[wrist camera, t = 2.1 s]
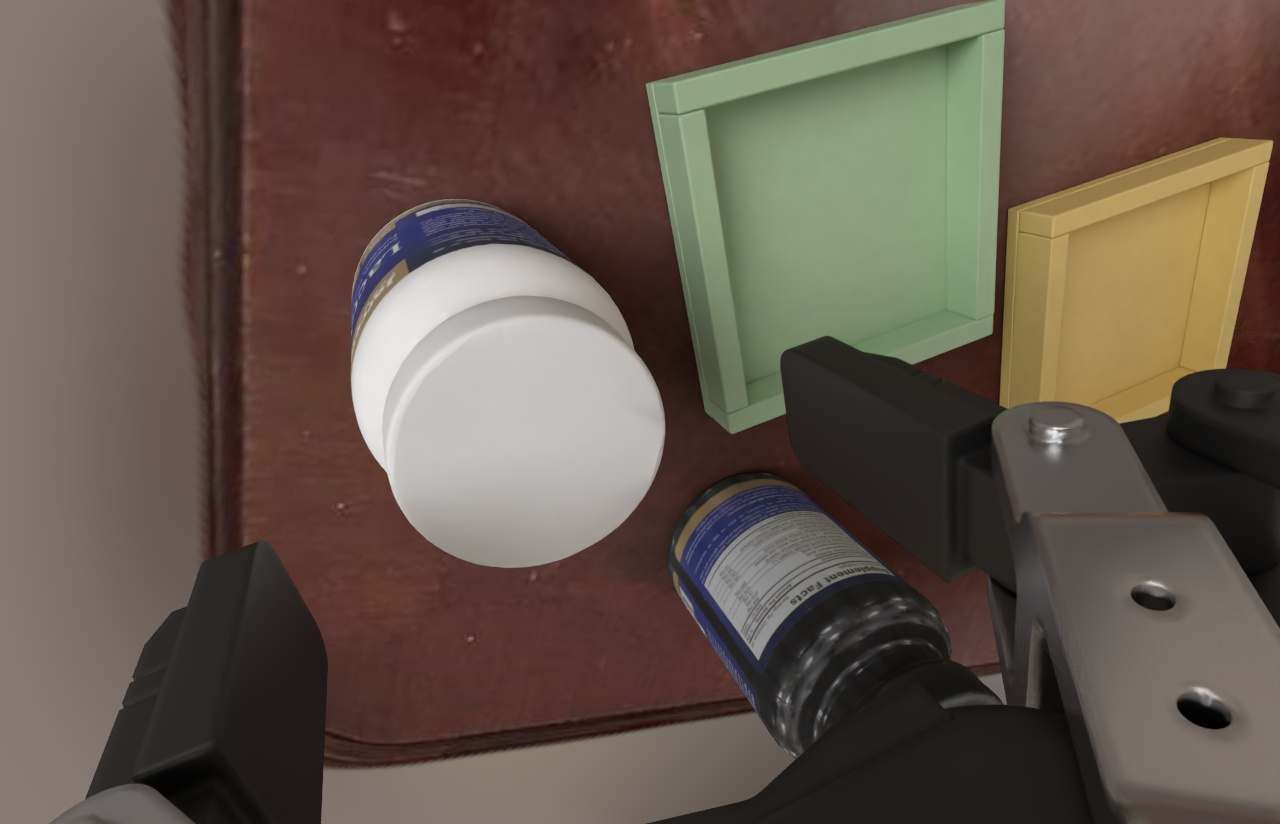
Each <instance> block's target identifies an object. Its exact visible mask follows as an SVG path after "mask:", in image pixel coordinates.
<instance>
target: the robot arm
mask: <svg viewBox="0 0 1280 824" xmlns="http://www.w3.org/2000/svg"><path fill="white" fill-rule="evenodd" d="M780 370H781V378H782V385H783V393H784V401H785V409H786V417H787V425H788V433H789V438H790V442H791V445H792V448H793V450H794V453H795V455H796V456H797V458H798V460H799V461H800V463H801V464H802V465H803V467H804V468H805V469H806V470H807V471H809V472H810V473H811V474H812V475H814V476H815V477H816V478H817V479H819V480H820V481H821V482H822V483H823V484H825V485H826V486H827V487H828V488H830V489H831V490H832V491H833V492H835V493H836V494H837V495H838V496H840V497H841V498H842V499H843V500H845V501H846V502H847V503H848V504H850V505H851V506H852V507H853V508H855V509H856V510H857V511H858V512H860V513H861V514H862V515H863V516H865V517H866V518H867V519H868V520H870V521H871V522H872V523H873V524H875V525H876V526H877V527H878V528H880V529H881V530H882V531H883V532H885V533H886V534H887V535H888V536H890V537H891V538H892V539H893V540H895V541H896V542H897V543H898V544H900V545H901V546H902V547H903V548H905V549H906V550H907V551H908V552H910V553H911V554H912V555H913V556H915V557H916V558H917V559H918V560H920V561H921V562H922V563H923V564H924V565H926V566H927V567H928V568H929V569H931V570H932V571H933V572H934V573H936V574H937V575H938V576H939V577H941V578H942V579H943V580H944V581H946V582H947V583H950V582H952V581H954V580H956V579H958V578H960V577H962V576H964V575H966V574H968V573H970V572H973V571H975V570H977V569H979V568H980V569H981V570H983V571H984V572H985V573H987V574H988V580H987V596H988V601H989V607H990V612H991V618H992V623H993V629H994V634H995V640H996V645H997V650H998V656H999V661H1000V667H1001V672H1002V678H1003V683H1004V689H1005V694H1006V701H1007V705H968V706H959V707H951V708H946V709H944V708H943V707H942V706H941V705H940V704H939V703H938V702H937V701H936V700H935V699H934V698H933V697H932V696H931V695H930V694H929V693H928V692H927V691H926V690H925V688H924V687H923V686H922V685H921V684H920V683H919V682H916V683H914V684H913V685H911V686H909V687H907V688H905V689H903V690H901V691H899V692H897V693H895V694H893V695H891V696H889V697H887V698H885V699H883V700H881V701H879V702H877V703H876V704H874V705H872V706H870V707H868V708H866V709H864V710H862V711H860V712H858V713H856V714H854V715H852V716H850V717H848V718H846V719H844V720H842V721H840V722H839V723H837V724H835V725H833V726H832V727H831V728H829V729H828V730H827V731H826V732H825V733H824V734H823V735H822V736H821V737H820V738H819V739H818V740H816V741H815V742H814V743H813V744H812V745H811V746H810V747H809V748H808V749H807V750H806V751H804V752H803V753H802V754H801V755H800V756H799V757H798V758H797V759H796V760H795V761H794V762H793V763H792V764H790V765H789V766H788V767H787V768H786V769H785V770H784V771H783V772H782V773H781V774H780V775H778V777H776V778H775V779H774V780H773V781H772V782H771V783H770V784H769V785H768V786H766V787H765V788H764V789H763V790H762V791H761V792H760V793H758V794H757V795H756V796H754V797H752V798H750V799H748V800H745V801H742V802H738V803H734V804H729V805H725V806H720V807H716V808H712V809H708V810H704V811H699V812H695V813H690V814H686V815H682V816H677V817H673V818H669V819H665V820H660V821H656V822H652V823H647V824H1280V375H1279V374H1275V373H1270V372H1265V371H1258V370H1250V369H1230V368H1227V369H1212V370H1204V371H1199V372H1195V373H1192V374H1188V375H1186V376H1184V377H1182V378H1180V379H1179V380H1177V381H1176V382H1175V383H1174V385H1173V387H1172V392H1171V398H1170V404H1169V411H1168V415H1163V416H1158V417H1152V418H1147V419H1141V420H1136V421H1130V422H1125V423H1118V422H1117V421H1116V420H1115V419H1114V418H1112V417H1111V416H1109V415H1107V414H1106V413H1104V412H1102V411H1099V410H1097V409H1094V408H1091V407H1088V406H1084V405H1080V404H1075V403H1068V402H1056V401H1044V402H1032V403H1026V404H1022V405H1018V406H1015V407H1012V408H1009V409H1007V408H1004V407H1002V406H1000V405H998V404H996V403H994V402H992V401H989V400H987V399H985V398H983V397H981V396H979V395H976V394H974V393H972V392H970V391H968V390H966V389H963V388H961V387H959V386H957V385H955V384H953V383H950V382H948V381H945V382H943V381H942V378H940V377H937V376H935V375H933V374H931V373H929V372H927V371H926V372H922V370H921V369H920V368H918V367H916V366H914V365H912V364H909V363H907V362H905V361H903V360H901V359H899V358H895V357H890V356H884V355H879V354H873V353H868V352H863V351H860V350H858V349H856V348H854V347H852V346H850V345H848V344H846V343H844V342H842V341H840V340H838V339H836V338H833V337H831V336H823V337H820V338H817V339H815V340H812V341H809V342H806V343H804V344H801V345H798V346H795V347H793V348H790V349H787V350H785V351H784V352H783V353H782V355H781V360H780ZM327 672H328V662H327V654H326V649H325V645H324V641H323V638H322V635H321V633H320V630H319V628H318V626H317V624H316V622H315V620H314V618H313V616H312V615H311V613H310V611H309V609H308V608H307V606H306V604H305V602H304V601H303V599H302V597H301V595H300V594H299V592H298V590H297V588H296V587H295V585H294V583H293V581H292V580H291V578H290V576H289V574H288V573H287V571H286V569H285V567H284V566H283V564H282V562H281V560H280V559H279V557H278V555H277V553H276V552H275V550H274V549H273V548H272V546H271V545H270V544H269V543H267V542H266V541H264V540H261V541H258V542H256V543H253V544H250V545H247V546H245V547H242V548H239V549H236V550H234V551H231V552H228V553H225V554H223V555H220V556H217V557H215V558H212V559H209V560H206V561H204V562H203V563H202V565H201V567H200V569H199V572H198V575H197V578H196V582H195V585H194V588H193V591H192V594H191V597H190V600H189V603H188V606H187V607H185V608H182V609H179V610H176V611H174V612H172V613H171V614H170V615H169V616H168V618H167V619H166V620H165V621H164V622H163V624H162V625H161V626H160V627H159V628H158V630H157V631H156V632H155V633H154V634H153V636H152V637H151V638H150V639H149V640H148V642H147V643H146V644H145V645H144V648H143V650H142V653H141V656H140V658H139V661H138V664H137V666H136V669H135V671H134V674H133V679H134V682H131V683H130V684H129V687H128V689H127V692H126V695H125V697H124V700H123V702H122V704H123V707H124V709H121V710H120V711H119V713H118V715H117V718H116V720H115V724H114V726H113V729H112V731H111V733H110V736H109V739H108V741H107V744H106V747H105V749H104V752H103V754H102V757H101V760H100V762H99V765H98V767H97V770H96V772H95V775H94V778H93V780H92V783H91V785H90V788H89V791H88V793H87V796H86V799H85V800H84V801H82V802H80V803H78V804H76V805H75V806H73V807H72V808H70V809H69V810H67V811H66V812H64V813H63V814H61V815H60V816H59V817H57V818H56V819H55V820H53V821H52V822H51V823H50V824H321V807H322V784H323V783H322V782H323V763H324V740H325V717H326V695H327Z"/></svg>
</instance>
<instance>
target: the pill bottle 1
mask: <svg viewBox="0 0 1280 824" xmlns="http://www.w3.org/2000/svg"><path fill="white" fill-rule="evenodd" d="M351 341H352V353H351V390H352V399H353V404H354V410H355V414H356V417H357V421H358V425H359V427H360V430H361V433H362V435H363V437H364V439H365V441H366V443H367V445H368V447H369V449H370V451H371V452H372V454H373V456H374V457H375V459H376V460H377V461H378V462H379V464H380V465H381V466H382V468H383V469H384V470H385V471H386V472H387V473H388V478H389V482H390V485H391V488H392V491H393V494H394V497H395V499H396V501H397V503H398V505H399V507H400V508H401V510H402V512H403V513H404V515H405V516H406V518H407V519H408V521H409V522H410V523H411V524H412V525H413V526H414V528H415V529H416V530H417V531H418V532H419V533H420V534H421V535H423V536H424V537H425V538H426V539H427V540H428V541H429V542H431V543H433V544H434V545H435V546H437V547H438V548H440V549H442V550H443V551H445V552H447V553H449V554H451V555H453V556H455V557H458V558H460V559H463V560H466V561H469V562H472V563H475V564H479V565H485V566H492V567H502V568H518V567H530V566H536V565H542V564H546V563H550V562H554V561H557V560H561V559H564V558H566V557H569V556H571V555H573V554H575V553H577V552H579V551H581V550H583V549H585V548H587V547H589V546H591V545H593V544H594V543H596V542H598V541H599V540H601V539H602V538H604V537H605V536H607V535H608V534H609V533H611V532H612V531H613V530H615V529H616V528H617V527H618V526H619V525H620V524H621V523H622V522H623V521H624V520H625V519H627V518H628V517H629V515H630V514H631V513H632V512H633V511H634V509H635V508H636V507H637V506H638V504H639V503H640V502H641V500H642V499H643V498H644V496H645V495H646V493H647V491H648V489H649V488H650V486H651V484H652V482H653V480H654V478H655V475H656V473H657V470H658V467H659V465H660V461H661V458H662V454H663V447H664V440H665V416H664V409H663V404H662V400H661V396H660V393H659V390H658V387H657V385H656V383H655V381H654V379H653V377H652V375H651V373H650V371H649V369H648V368H647V366H646V365H645V363H644V362H643V360H642V359H641V358H640V357H639V356H638V354H637V353H636V352H635V351H634V346H633V342H632V339H631V335H630V333H629V330H628V328H627V325H626V323H625V321H624V319H623V317H622V315H621V313H620V311H619V309H618V308H617V306H616V305H615V303H614V302H613V300H612V299H611V297H610V296H609V294H608V293H607V292H606V291H605V290H604V289H603V288H602V287H601V286H600V285H599V283H598V282H597V281H596V280H595V279H594V278H593V277H592V276H590V275H589V274H588V273H587V272H586V271H584V270H583V269H582V268H580V267H579V266H578V265H577V264H576V263H575V262H573V261H572V260H571V259H569V258H568V257H567V256H566V255H564V254H563V253H562V252H561V251H559V250H558V249H557V248H556V247H555V246H553V245H552V244H551V243H550V242H549V241H548V240H547V239H545V238H544V237H543V236H541V235H540V234H539V233H538V232H537V231H536V230H534V229H533V228H531V227H530V226H529V225H528V224H526V223H525V222H524V221H522V220H521V219H519V218H518V217H516V216H515V215H513V214H511V213H509V212H507V211H506V210H503V209H501V208H499V207H496V206H493V205H490V204H487V203H484V202H479V201H474V200H467V199H446V200H438V201H433V202H429V203H425V204H422V205H419V206H417V207H414V208H412V209H410V210H408V211H406V212H404V213H403V214H401V215H399V216H398V217H396V218H394V219H393V220H392V221H390V222H389V223H388V224H387V225H385V226H384V227H383V228H382V229H381V230H380V231H379V232H378V233H377V235H376V236H375V237H374V238H373V239H372V241H371V242H370V244H369V245H368V246H367V248H366V250H365V251H364V253H363V255H362V258H361V260H360V262H359V264H358V267H357V270H356V273H355V277H354V283H353V289H352V329H351Z"/></svg>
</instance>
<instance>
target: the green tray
mask: <svg viewBox="0 0 1280 824" xmlns="http://www.w3.org/2000/svg"><path fill="white" fill-rule="evenodd" d="M1004 21H1005V0H990V1H983V2H977V3H970V4H963V5H956V6H952V7H948V8H944V9H940V10H936V11H932V12H928V13H924V14H920V15H916V16H912V17H908V18H904V19H900V20H896V21H892V22H888V23H884V24H880V25H876V26H872V27H868V28H864V29H860V30H856V31H852V32H848V33H844V34H840V35H836V36H832V37H828V38H825V39H821V40H817V41H813V42H809V43H805V44H801V45H797V46H793V47H789V48H785V49H781V50H777V51H773V52H769V53H765V54H761V55H757V56H753V57H749V58H745V59H741V60H737V61H733V62H729V63H725V64H721V65H717V66H713V67H709V68H705V69H701V70H697V71H693V72H689V73H685V74H681V75H677V76H673V77H669V78H665V79H661V80H657V81H653V82H649V83H647V84H646V89H647V94H648V100H649V105H650V111H651V116H652V122H653V127H654V133H655V138H656V144H657V149H658V155H659V160H660V166H661V171H662V177H663V182H664V188H665V193H666V199H667V204H668V210H669V215H670V221H671V226H672V232H673V237H674V243H675V248H676V254H677V259H678V265H679V270H680V276H681V281H682V287H683V292H684V298H685V303H686V309H687V314H688V320H689V325H690V331H691V336H692V342H693V347H694V353H695V358H696V364H697V369H698V375H699V380H700V386H701V391H702V397H703V403H704V408H705V412H706V413H707V414H708V415H709V416H710V417H712V418H713V419H714V420H716V421H717V422H718V423H719V424H720V425H721V426H722V427H723V428H725V429H726V430H727V431H728V432H729V433H730V434H734V433H737V432H740V431H742V430H745V429H747V428H750V427H753V426H755V425H758V424H760V423H763V422H765V421H768V420H771V419H773V418H776V417H778V416H781V415H784V414H786V409H785V401H784V393H783V385H782V378H781V370H780V360H781V355H782V353H783V352H784V351H785V350H787V349H790V348H793V347H795V346H798V345H801V344H804V343H806V342H809V341H812V340H815V339H817V338H820V337H823V336H831V337H833V338H836V339H838V340H840V341H842V342H844V343H846V344H848V345H850V346H852V347H854V348H856V349H858V350H860V351H863V352H868V353H873V354H879V355H884V356H890V357H895V358H899V359H901V360H903V361H905V362H907V363H909V364H912V365H913V364H916V363H918V362H921V361H924V360H926V359H929V358H931V357H934V356H937V355H939V354H942V353H944V352H947V351H950V350H952V349H955V348H957V347H960V346H963V345H965V344H968V343H970V342H973V341H976V340H978V339H981V338H983V337H986V336H988V335H991V334H992V333H993V315H992V314H994V303H995V276H996V250H997V223H998V197H999V171H1000V144H1001V118H1002V92H1003V65H1004V39H1005V30H1004V29H1002V28H1004Z"/></svg>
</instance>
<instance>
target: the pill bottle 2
mask: <svg viewBox="0 0 1280 824" xmlns="http://www.w3.org/2000/svg"><path fill="white" fill-rule="evenodd" d="M668 570H669V575H670V578H671V582H672V584H673V586H674V588H675V590H676V592H677V593H678V594H679V596H680V597H681V599H682V601H683V602H684V604H685V605H686V607H687V609H688V610H689V612H690V613H691V615H692V616H693V618H694V619H695V621H696V622H697V624H698V625H699V627H700V628H701V630H702V631H703V633H704V634H705V636H706V637H707V639H708V640H709V642H710V643H711V645H712V646H713V648H714V649H715V651H716V652H717V654H718V655H719V657H720V658H721V660H722V661H723V663H724V664H725V666H726V667H727V669H728V670H729V672H730V673H731V675H732V676H733V678H734V679H735V681H736V682H737V684H738V685H739V687H740V688H741V690H742V691H743V693H744V694H745V696H746V697H747V699H748V700H749V702H750V704H751V705H752V707H753V708H754V710H755V711H756V713H757V714H758V716H759V717H760V719H761V720H762V721H763V723H764V724H765V726H766V728H767V729H768V731H769V732H770V734H771V735H772V736H773V738H774V739H775V741H776V742H777V744H778V745H779V746H781V747H782V748H783V749H784V751H785V752H787V753H788V754H790V755H791V756H792V757H793V758H795V759H797V758H798V757H799V756H800V755H801V754H802V753H803V752H804V751H806V750H807V749H808V748H809V747H810V746H811V745H812V744H813V743H814V742H815V741H816V740H818V739H819V738H820V737H821V736H822V735H823V734H824V733H825V732H826V731H827V730H828V729H829V728H831V727H832V726H833V725H835V724H837V723H839V722H840V721H842V720H844V719H846V718H848V717H850V716H852V715H854V714H856V713H858V712H860V711H862V710H864V709H866V708H868V707H870V706H872V705H874V704H876V703H877V702H879V701H881V700H883V699H885V698H887V697H889V696H891V695H893V694H895V693H897V692H899V691H901V690H903V689H905V688H907V687H909V686H911V685H913V684H914V683H916V682H919V683H920V684H921V685H922V686H923V687H924V688H925V690H926V691H927V692H928V693H929V694H930V695H931V696H932V697H933V698H934V699H935V700H936V701H937V702H938V703H939V704H940V705H941V706H942V707H943V708H944V709H946V708H951V707H959V706H968V705H1004V704H1003V703H1002V701H1001V700H1000V698H999V697H998V696H997V695H996V694H995V693H994V692H993V691H991V690H990V689H989V688H988V687H987V686H985V685H984V684H983V683H982V682H981V681H980V680H979V679H978V678H977V676H976V675H975V674H974V673H973V672H971V671H970V669H969V668H967V667H965V666H963V665H961V664H959V663H957V662H954V661H951V652H952V650H951V644H950V637H949V634H948V630H947V628H946V625H945V622H944V621H943V619H942V617H941V616H940V614H939V612H938V611H937V610H936V608H935V607H934V606H933V605H932V604H931V602H930V601H929V600H928V599H926V598H925V597H924V596H923V595H922V594H921V593H919V592H918V591H917V590H916V589H915V588H913V587H912V586H911V585H910V584H909V583H908V582H906V581H905V580H904V579H903V578H902V577H901V576H899V575H898V574H897V573H896V572H895V571H894V570H892V569H891V568H890V567H889V566H888V565H887V564H885V563H884V562H883V561H882V560H881V559H880V558H878V557H877V556H876V555H875V554H874V553H873V552H872V551H870V550H869V549H868V548H867V547H866V546H865V545H863V544H862V543H861V542H860V541H859V540H858V539H857V538H856V537H854V536H853V535H852V534H851V533H850V532H849V531H847V530H846V529H845V528H844V527H843V526H842V525H840V524H839V523H838V522H837V521H836V520H835V519H833V518H832V517H831V516H830V515H829V514H827V513H826V512H825V511H824V510H823V509H822V508H821V507H819V506H818V505H817V504H816V503H815V502H814V501H813V500H811V499H810V498H809V497H808V496H807V495H806V494H804V493H803V492H802V491H801V490H800V489H798V488H797V487H796V486H795V485H793V484H792V483H791V482H790V481H788V480H787V479H784V478H782V477H780V476H778V475H775V474H770V473H766V472H759V473H755V472H754V473H747V474H739V475H735V476H731V477H729V478H727V479H724V480H722V481H720V482H718V483H716V484H714V485H713V486H711V487H710V488H708V489H707V490H705V491H704V492H702V493H701V494H700V495H698V496H697V498H696V499H695V500H694V501H692V503H691V504H690V505H689V506H688V507H687V509H686V510H685V511H684V512H683V514H682V516H681V517H680V519H679V521H678V523H677V525H676V527H675V529H674V532H673V534H672V537H671V544H670V548H669V557H668Z"/></svg>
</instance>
